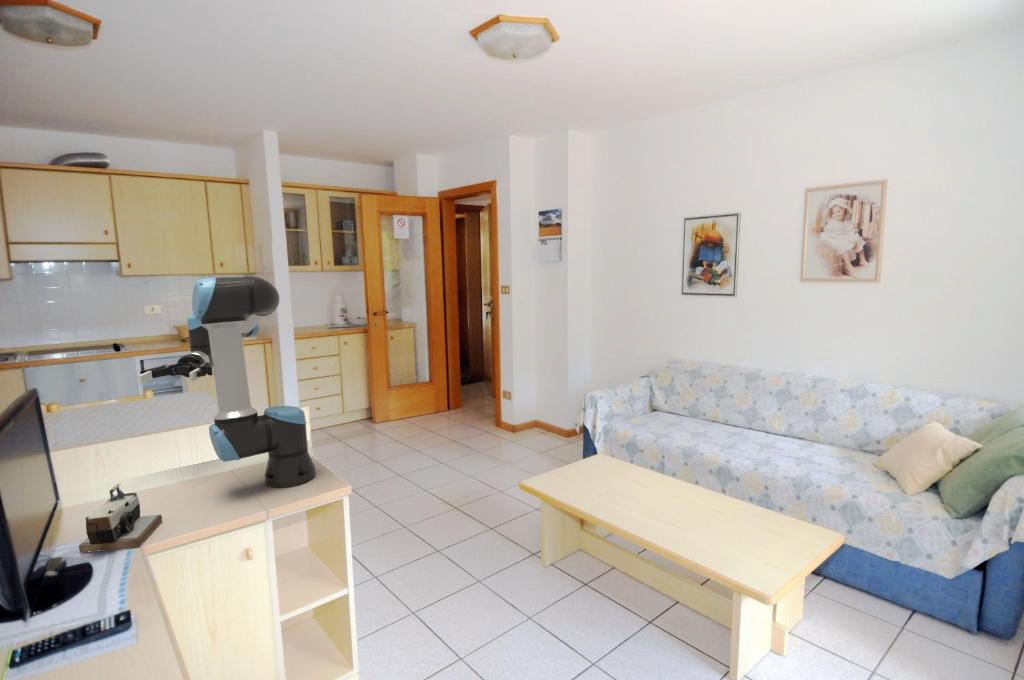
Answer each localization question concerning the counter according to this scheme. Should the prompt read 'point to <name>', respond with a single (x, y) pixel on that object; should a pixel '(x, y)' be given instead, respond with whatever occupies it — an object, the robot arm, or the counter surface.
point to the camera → (113, 517)
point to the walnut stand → (128, 535)
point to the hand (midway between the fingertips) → (166, 378)
